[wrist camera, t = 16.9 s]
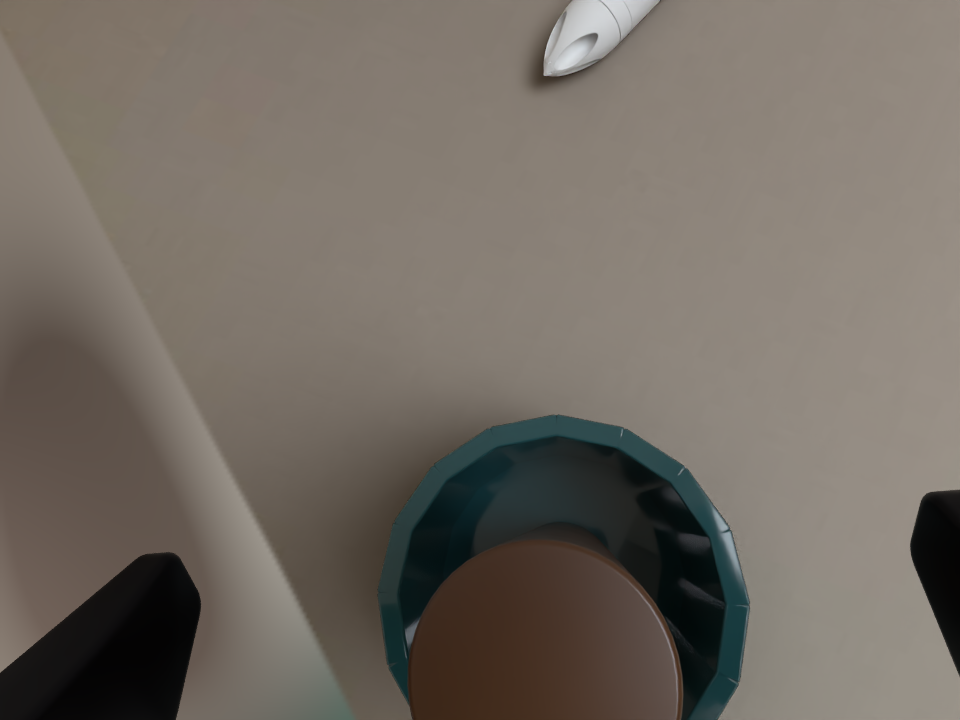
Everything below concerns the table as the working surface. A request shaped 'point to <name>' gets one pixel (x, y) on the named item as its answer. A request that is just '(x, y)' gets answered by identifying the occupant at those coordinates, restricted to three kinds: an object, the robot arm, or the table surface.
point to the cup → (593, 506)
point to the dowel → (544, 638)
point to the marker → (591, 32)
